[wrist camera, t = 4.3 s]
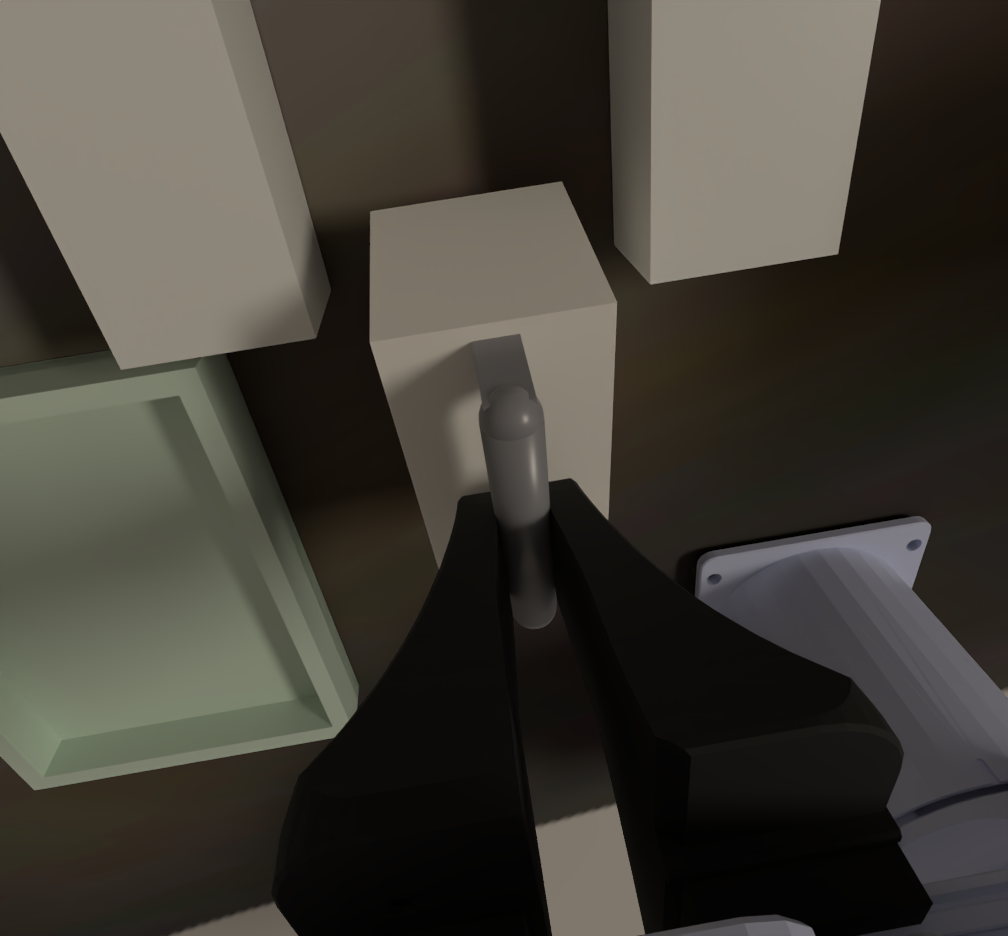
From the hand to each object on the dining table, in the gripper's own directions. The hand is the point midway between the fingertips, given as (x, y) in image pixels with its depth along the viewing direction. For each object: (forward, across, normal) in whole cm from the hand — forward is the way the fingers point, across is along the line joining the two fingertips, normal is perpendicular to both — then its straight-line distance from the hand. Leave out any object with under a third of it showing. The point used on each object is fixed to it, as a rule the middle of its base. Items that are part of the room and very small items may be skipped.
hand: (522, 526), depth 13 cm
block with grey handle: (+5, 0, -2) cm, 5 cm away
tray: (+6, +12, +4) cm, 14 cm away
